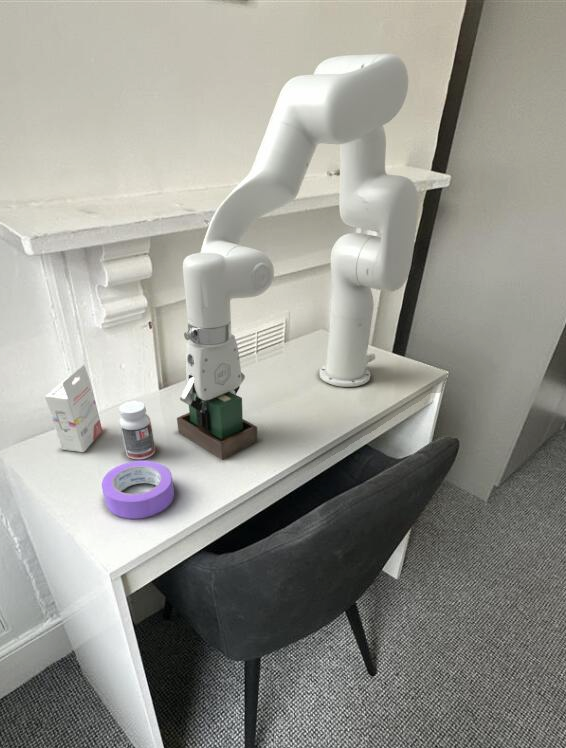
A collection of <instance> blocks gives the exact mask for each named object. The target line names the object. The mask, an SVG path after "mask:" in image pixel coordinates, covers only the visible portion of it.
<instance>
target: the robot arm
mask: <svg viewBox="0 0 566 748" xmlns="http://www.w3.org/2000/svg"><path fill="white" fill-rule="evenodd" d="M408 89H409V74H408V69H407V66H406V64H405V62H404V60H403V59H402V58H401V57H399V56H398V55H396V54H393V53H374V54H373V53H371V54H370V53H369V54H350V55H347V54H345V55H338V56H337V55H336V56H333V57H329V58H327V59H324V60H322V62H320V63H319V64H318V65H317V67H316V68H315V70H314V73H313V74H302V75H297V76H294V77H292V78H291V79H289V80H288V81H286V82H285V84H284V85H283V86H282V88H281V90H280V93H279V95H278V96H277V100H276V102H275V105H274V108H273V111H272V113H271V116H270V117H269V121H268V123H267V127H266V130H265V132H264V136H263V138H262V141H261V143H260V146H259V149H258V151H257V153H256V155H255V159H254V161H253V163H252V167H251V169H250V170H249V172H248V174H247V175H246V176H245V177H244V178H243V179H242V180H241V181H240V182H239V183H238V184H236V186H235V187H234V188H233V189H232V190H231V191H230V193H229V194H228V195H227V196H226V197H225V198H224V199H223V201H222V202H221V203H220V205H218V207H217V208H216V210H215V212H214V214H213V215H212V217H211V220H210V222H209V225H208V227H207V230H206V233H205V235H204V239H203V242H202V244H201V248H200V252H195V253H192V254H189V255H187V256H185V258H184V259H183V262H182V276H183V286H184V296H185V306H186V317H187V318H186V319H187V331H185V332H184V334H183V337H184V339H185V340H186V341H187V342H186V349H185V350H186V352H185V379H186V385H185V388H184V389H183V392H182V394H181V395H180V399H179V400H180V401H181V402H182V403H185V404H186V405H188V406H189V405H190V406H191V407H193V408H194V409H196V416H197V423H198V425H199V426H200V427H202V428H204V429H205V430H207V431H208V430H210V419H209V412H208V411H206V410H207V405H208V400H210V399H213V398H215V397H218V396H220V395H222V394H225V393H227V392H231V393H233V394H235V395H237V393H238V391H239V390H240V388H241V385H242V384H243V382H244V380H245V379H246V376H245V374H244V373H243V372H242V368H241V358H240V351H239V346H238V343H237V339H236V336H235V335H234V334H232V316H231V315H232V314H231V313H232V311H231V300H233V299H246V298H247V299H249V298H255V297H258V296H261V295H262V294H264V293H266V291H267V290H268V289H269V288H270V287H271V286H272V283H273V280H274V276H275V268H274V265H273V262H272V260H271V259H270V257H269V256H268V255H267V254H266V253H265V252H263V251H261V250H259V249H255V248H252V247H248V246H245V245H241V244H240V242H241V240H242V239H243V236H244V235H245V233H246V231H247V230H248V229H249V228H250V227H251V226H252V225H253V224H254V223H255V222H256V221H257V220H259V219H260V218H261V217H264V216H265V215H267V214H270V213H271V212H272V213H273V212H274V211H276V210H278V209H281V208H282V207H285V206H286V205H289V204H290V203H291V202H293V201H294V200H295V199H296V198H297V196H298V194H299V191H300V189H301V186H302V184H303V181H304V178H305V177H306V173H307V171H308V169H309V166H310V164H311V161H312V158H313V156H314V153H315V152H316V149H317V147H318V145H319V144H327V145H338V146H339V196H338V197H339V200H338V205H339V206H338V208H339V216H340V219H341V221H342V222H343V223H344V224H345V225H347V226H348V227H352V228H354V229H355V228H356V229H360V230H365V231H370V232H371V231H372V232H377V233H380V236H377V235H372V234H367V233H361V232H349V233H346V234H344V235H342V236H341V237H339V238H338V239H337V240H336V241H335V242H334V245H333V247H332V249H331V253H330V273H331V287H332V289H331V293H332V294H331V295H332V296H331V306H330V309H331V310H330V319H329V329H328V339H327V340H328V341H327V351H326V352H327V353H326V364H324V365H323V366H321V368H319V372H318V373H319V378H320V379H321V380H322V381H323V382H325V383H327V384H329V385H332V386H336V387H342V388H354V387H359V386H362V385H365V384H366V383H368V382H369V381H370V379H371V371H370V370H369V369H368V368H367V365H368V364H369V363H370V362H373V361H374V360H376V354H375V353H374V352H370V353H368V348H369V342H370V335H371V326H372V319H373V315H374V305H375V304H374V295H373V292H372V289H374V290H378V291H383V292H389V293H390V292H396V291H398V290H400V289H401V288H402V287H403V286H404V284H405V283H406V281H407V280H408V277H409V274H410V271H411V267H412V261H413V255H414V254H413V253H414V247H415V240H416V232H417V225H418V224H417V223H418V216H419V194H418V189H417V187H416V185H415V183H414V181H412V179H410V178H408V177H407V176H403V175H396V174H387V172H386V151H387V137H386V131H385V128H384V125H387V124H388V123H390V122H391V121H392V120H394V119H395V117H396V116H397V115H398V114H399V112H400V111H401V109H402V108H403V105H404V104H405V100H406V98H407V94H408ZM193 394H195V395H194V400H193V399H192V395H193ZM200 399H202V401H201V404H200Z"/></svg>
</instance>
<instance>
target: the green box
mask: <svg viewBox="0 0 566 748" xmlns="http://www.w3.org/2000/svg"><path fill="white" fill-rule="evenodd" d="M194 395H195V394H193V395H192V399H193V400H194ZM201 401H202V399H200V404H201ZM188 411H189V412H190V421H191V422H192V423H194V424H196V425H198V423H197V416H196V409H194V408H193V407H191V406H190V405H188ZM206 411H208V412H209V419H210V430H208V432H210V433H211V434H213V435H215V436H216V437H218V438H220V439H222V440H223V439H225V438H227V437H229V436H231V435H233V434H235V433H237V432H239V431H242V430H243V419H244V418H243V415H244V414H243V397H241V396H239V395H238V394H236V395H235V394H233V393H231V392H227V393H225V394H222V395H220V396H218V397H215V398H213V399H210V400H208V405H207V410H206ZM189 412H188V413H189ZM198 426H199V425H198ZM199 427H200V426H199ZM201 428H202V427H201ZM203 429H204V428H203ZM204 430H205V429H204ZM206 431H207V430H206Z"/></svg>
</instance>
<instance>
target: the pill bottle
mask: <svg viewBox="0 0 566 748" xmlns="http://www.w3.org/2000/svg"><path fill="white" fill-rule="evenodd" d="M118 409H119V414H120V416H121V417H120V418H119V421H118V422H119V423H118V424H119V429H120V433H121V437H122V442H123V446H124V451H125V454H126V456H127V458H129V459H133V460H136V461H141V460H144V459H149V458H150V457H152V456H153V455H154V454H155V452H156V444H155V439H154V433H153V428H152V427H153V426H152V422H151V418H150V416H149V414H147V409H146V405H145V403H144V402H142V401H139V400H129V401H125V402H124V403H122V404H120V406H119V408H118Z"/></svg>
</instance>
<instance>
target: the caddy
mask: <svg viewBox="0 0 566 748" xmlns="http://www.w3.org/2000/svg"><path fill="white" fill-rule="evenodd" d="M176 423H177V430H178V434H180V435H182V436H183V437H185V438H187V439H188V440H189V441H191V442H193V443H194V444H196V445H198V446H199V447H200V448H202V449H204V450H206V451H208V452H209V453H211V454H212V455H214V457H216V458H219V459H220V460H224V459H226V458H227V457H230V456H232V455H234V454H236V453H238V452H240V451H242V450H244V449H245V448H247V447H250V446H251V445H253V444H255V443H257V442H258V426H257V425H255V424H253V423H251V422H250V421H248V420H245V419H244V418H243V430H242V431H239V432H237V433H235V434H233V435H231V436H229V437H227V438H225V439H223V440H222V439H220V438H218V437H216V436H215V435H213V434H211V433H210V432H208V431H206V430H204V429H203V428H201V427H199V426H198V425H196V424H194V423H192V422H191V421H190V412H187V413H184V414H183V415H181V416H177V417H176Z"/></svg>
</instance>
